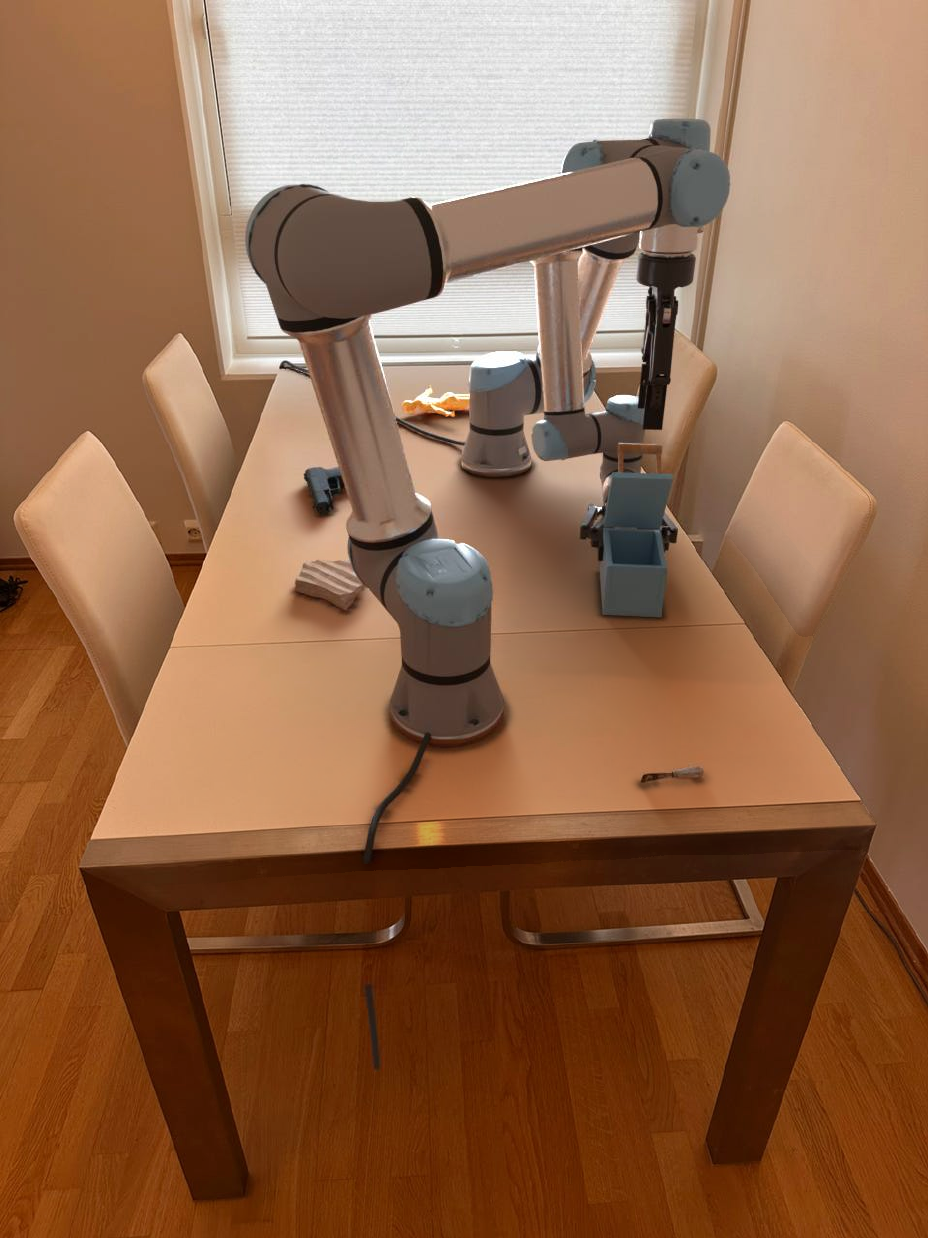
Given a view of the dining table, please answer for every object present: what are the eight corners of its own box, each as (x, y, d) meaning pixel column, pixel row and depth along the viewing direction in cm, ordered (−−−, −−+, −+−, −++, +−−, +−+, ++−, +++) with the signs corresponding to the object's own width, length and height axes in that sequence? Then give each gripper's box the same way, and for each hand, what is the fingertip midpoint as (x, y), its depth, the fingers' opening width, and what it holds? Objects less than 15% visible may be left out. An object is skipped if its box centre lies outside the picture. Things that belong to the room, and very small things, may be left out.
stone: (382, 577, 152) (381, 564, 151) (347, 611, 143) (346, 598, 142) (316, 564, 157) (314, 551, 155) (279, 596, 147) (277, 583, 146)
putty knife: (703, 777, 109) (705, 767, 109) (642, 788, 108) (644, 777, 107) (700, 772, 110) (702, 762, 109) (639, 782, 109) (640, 771, 108)
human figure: (395, 413, 223) (394, 398, 221) (438, 390, 237) (438, 375, 235) (462, 429, 215) (462, 413, 213) (502, 404, 229) (503, 388, 227)
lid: (673, 479, 135) (672, 432, 139) (612, 477, 136) (612, 431, 139) (660, 529, 148) (659, 485, 151) (603, 527, 148) (604, 483, 152)
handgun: (374, 509, 176) (313, 517, 173) (359, 474, 190) (302, 481, 188) (373, 494, 174) (311, 502, 172) (358, 460, 188) (301, 466, 186)
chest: (661, 617, 141) (667, 568, 137) (602, 614, 142) (607, 566, 137) (653, 576, 153) (659, 529, 148) (599, 573, 154) (603, 527, 149)
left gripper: (707, 268, 109) (684, 445, 121) (686, 239, 127) (668, 395, 139) (645, 267, 109) (628, 443, 121) (633, 238, 127) (619, 394, 139)
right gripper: (680, 518, 167) (696, 577, 148) (563, 514, 168) (563, 572, 149) (685, 481, 163) (702, 536, 144) (565, 477, 164) (565, 531, 145)
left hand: (649, 417), depth 130 cm, fingers open, 8 cm apart
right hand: (631, 554), depth 147 cm, fingers closed on chest, 9 cm apart
